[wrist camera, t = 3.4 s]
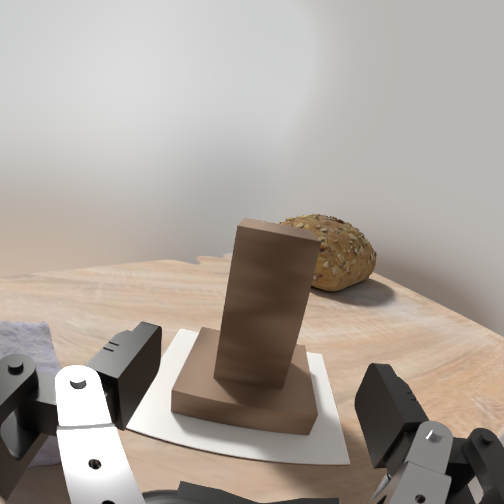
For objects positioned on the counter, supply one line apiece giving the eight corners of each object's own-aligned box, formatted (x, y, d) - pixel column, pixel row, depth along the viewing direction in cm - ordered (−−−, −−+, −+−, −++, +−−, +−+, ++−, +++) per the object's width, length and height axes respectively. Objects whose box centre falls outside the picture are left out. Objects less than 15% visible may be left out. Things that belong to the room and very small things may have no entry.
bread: (299, 255, 75) (309, 209, 73) (377, 281, 62) (390, 229, 60) (235, 263, 56) (246, 200, 54) (337, 304, 43) (356, 227, 41)
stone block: (-25, 496, 5) (108, 455, 11) (-78, 443, 3) (75, 398, 10) (-34, 379, 13) (57, 350, 19) (-59, 329, 11) (40, 299, 18)
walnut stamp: (170, 411, 16) (187, 222, 14) (199, 346, 25) (219, 210, 23) (309, 435, 16) (371, 257, 14) (299, 364, 25) (333, 232, 22)
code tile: (120, 426, 14) (120, 424, 14) (180, 329, 28) (180, 327, 28) (349, 464, 14) (350, 463, 14) (321, 354, 27) (321, 353, 27)
